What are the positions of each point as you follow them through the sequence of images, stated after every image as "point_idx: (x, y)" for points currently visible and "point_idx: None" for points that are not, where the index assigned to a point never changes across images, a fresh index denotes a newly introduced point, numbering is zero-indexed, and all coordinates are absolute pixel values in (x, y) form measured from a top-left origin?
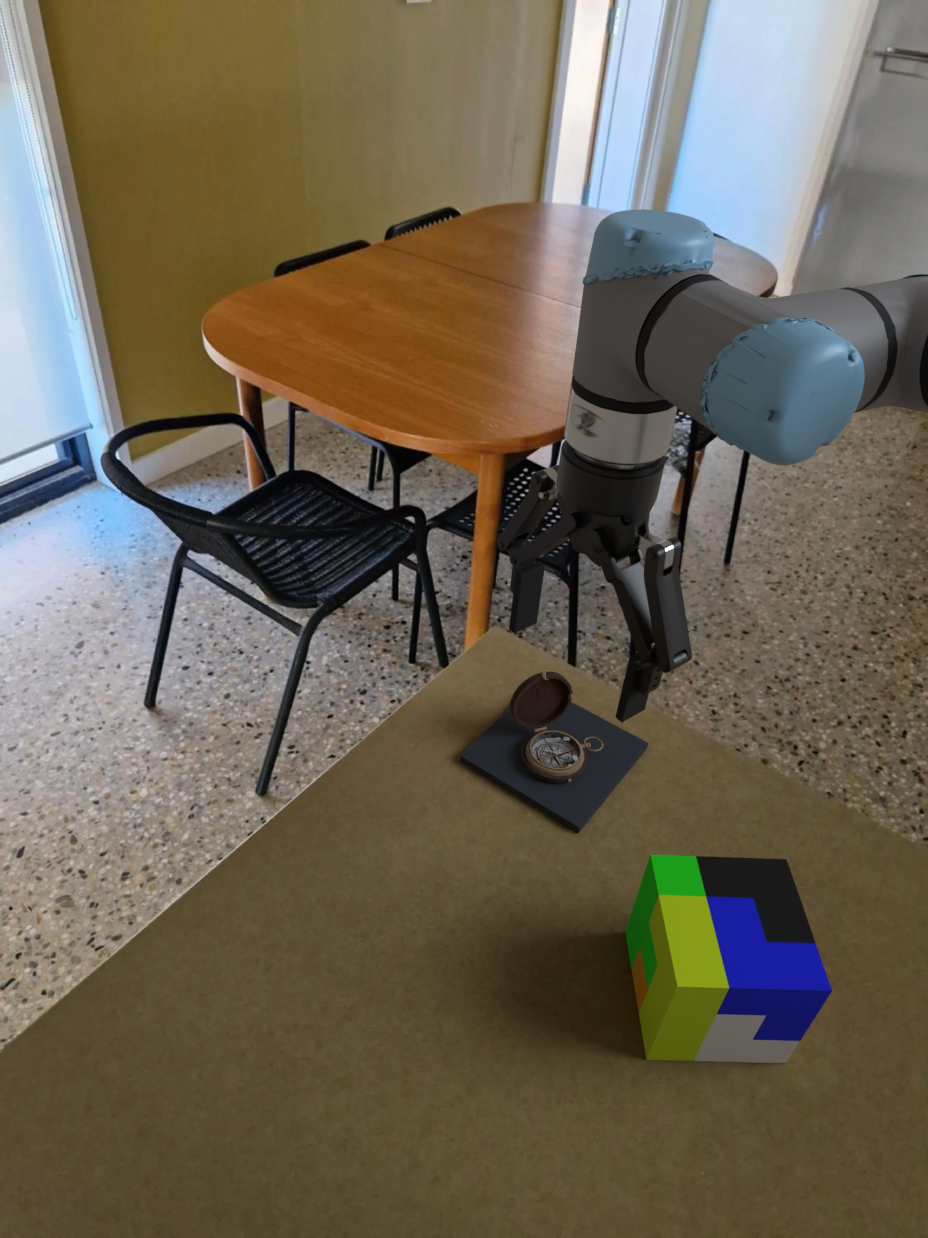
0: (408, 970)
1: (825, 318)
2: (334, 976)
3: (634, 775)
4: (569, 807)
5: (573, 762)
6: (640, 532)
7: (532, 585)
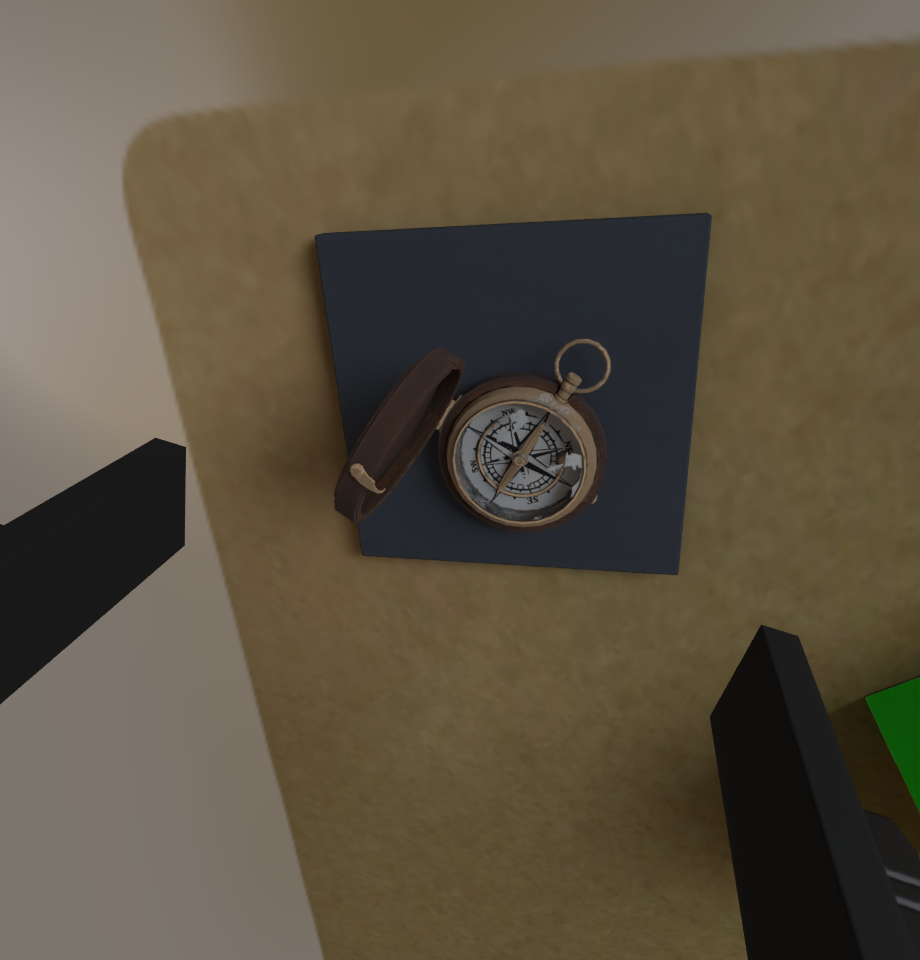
0: (580, 862)
1: None
2: (508, 894)
3: (717, 332)
4: (630, 543)
5: (571, 446)
6: None
7: (16, 616)
